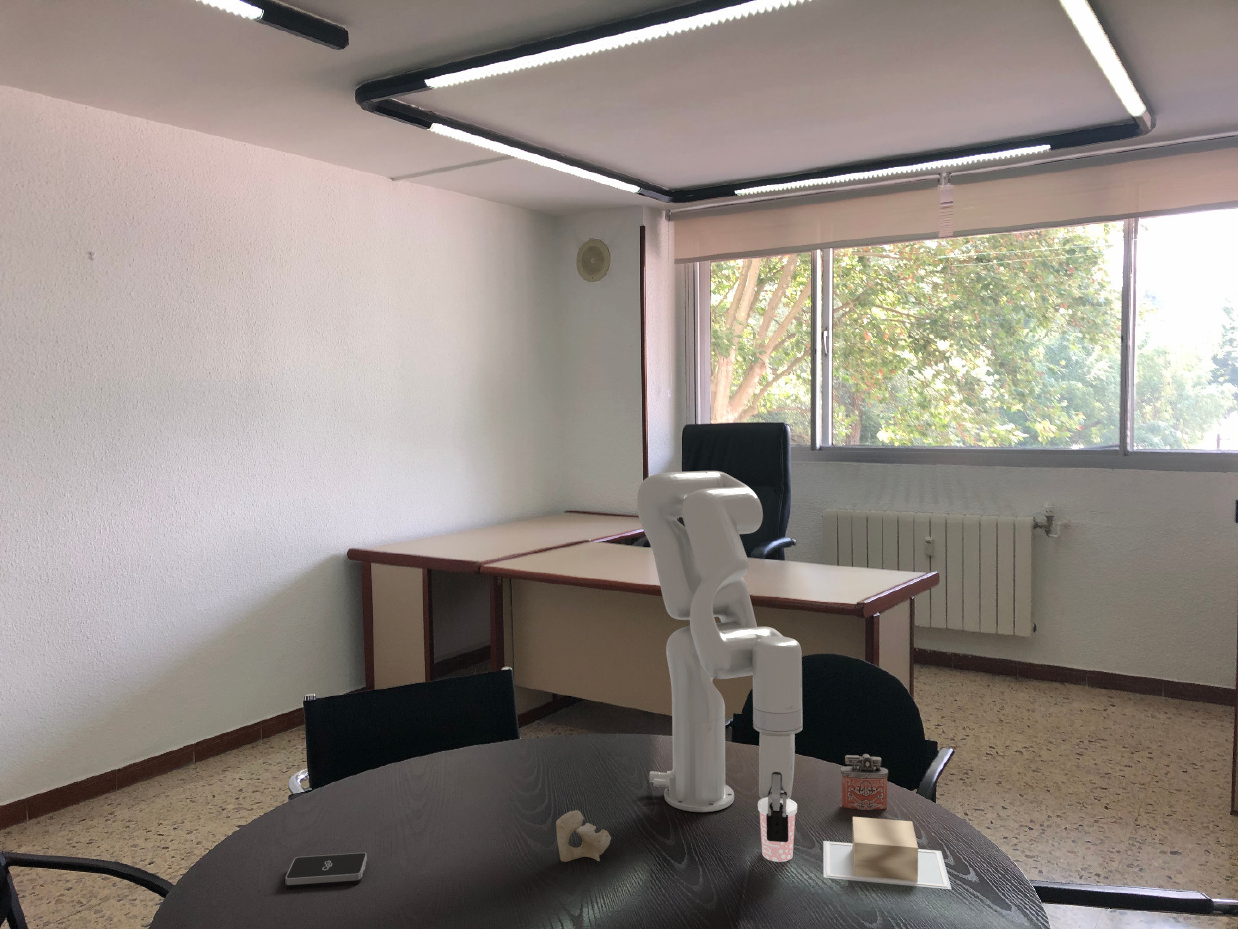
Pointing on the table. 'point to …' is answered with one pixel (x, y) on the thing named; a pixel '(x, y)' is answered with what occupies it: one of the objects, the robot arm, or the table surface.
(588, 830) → the bone
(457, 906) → the table surface
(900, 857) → the maple block
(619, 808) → the table surface
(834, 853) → the white tray
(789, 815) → the beverage cup
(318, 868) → the external hard drive
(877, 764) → the lighter
